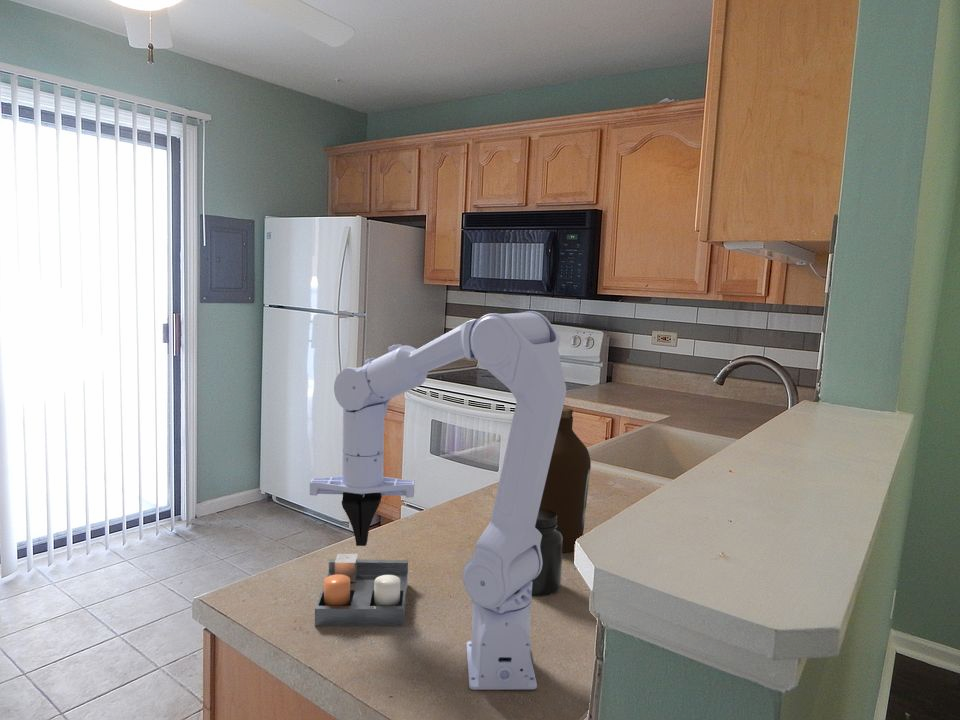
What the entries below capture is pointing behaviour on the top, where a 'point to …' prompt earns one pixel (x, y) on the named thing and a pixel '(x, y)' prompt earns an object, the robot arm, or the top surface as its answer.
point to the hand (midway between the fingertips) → (361, 543)
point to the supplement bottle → (548, 555)
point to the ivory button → (387, 590)
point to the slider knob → (347, 565)
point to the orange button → (336, 590)
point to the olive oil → (567, 482)
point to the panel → (366, 597)
